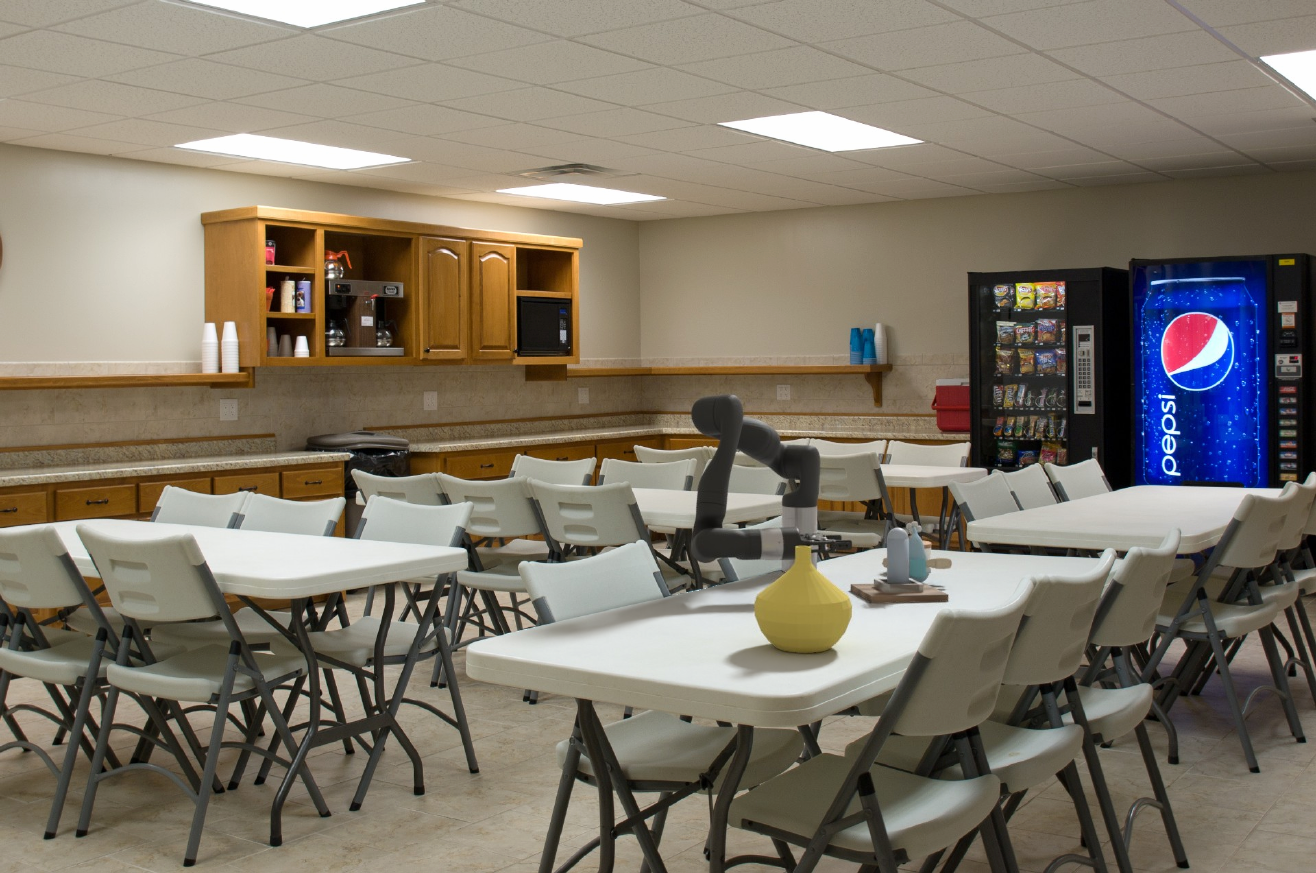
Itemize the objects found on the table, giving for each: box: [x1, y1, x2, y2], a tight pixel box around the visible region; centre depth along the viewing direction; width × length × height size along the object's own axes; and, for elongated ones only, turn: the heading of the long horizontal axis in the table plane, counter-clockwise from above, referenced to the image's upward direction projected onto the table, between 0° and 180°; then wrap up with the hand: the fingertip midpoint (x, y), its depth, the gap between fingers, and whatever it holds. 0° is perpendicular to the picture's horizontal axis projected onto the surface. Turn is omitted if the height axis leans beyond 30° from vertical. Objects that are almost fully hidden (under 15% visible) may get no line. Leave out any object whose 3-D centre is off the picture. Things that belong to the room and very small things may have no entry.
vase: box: [753, 546, 853, 654], centre depth 235 cm, size 18×18×19 cm
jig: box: [850, 578, 949, 604], centre depth 291 cm, size 17×18×3 cm
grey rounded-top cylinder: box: [886, 527, 909, 584], centre depth 291 cm, size 5×5×14 cm
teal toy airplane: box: [881, 521, 953, 583], centre depth 309 cm, size 17×10×15 cm, turn 84°
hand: (846, 542), depth 289 cm, fingers open, 8 cm apart
